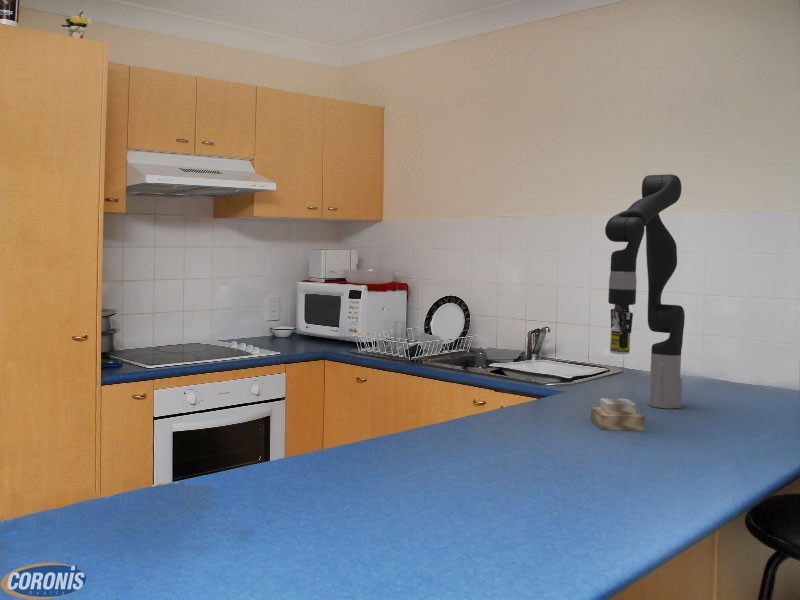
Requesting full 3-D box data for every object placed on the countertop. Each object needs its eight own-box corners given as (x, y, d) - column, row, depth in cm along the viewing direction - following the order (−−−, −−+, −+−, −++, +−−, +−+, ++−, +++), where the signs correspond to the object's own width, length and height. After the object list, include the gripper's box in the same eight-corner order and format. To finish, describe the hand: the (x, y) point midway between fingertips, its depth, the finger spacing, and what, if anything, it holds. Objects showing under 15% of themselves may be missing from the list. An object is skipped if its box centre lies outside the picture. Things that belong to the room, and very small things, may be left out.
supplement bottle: (607, 353, 222) (609, 319, 222) (612, 351, 227) (613, 317, 226) (627, 355, 220) (628, 320, 219) (631, 353, 224) (632, 319, 224)
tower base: (631, 421, 231) (632, 397, 230) (644, 430, 219) (645, 405, 218) (590, 420, 231) (591, 396, 230) (601, 429, 219) (602, 405, 218)
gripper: (643, 289, 215) (641, 350, 216) (628, 286, 229) (625, 343, 230) (616, 288, 215) (614, 349, 216) (602, 286, 229) (600, 343, 230)
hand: (620, 346), depth 223 cm, fingers closed on supplement bottle, 5 cm apart
